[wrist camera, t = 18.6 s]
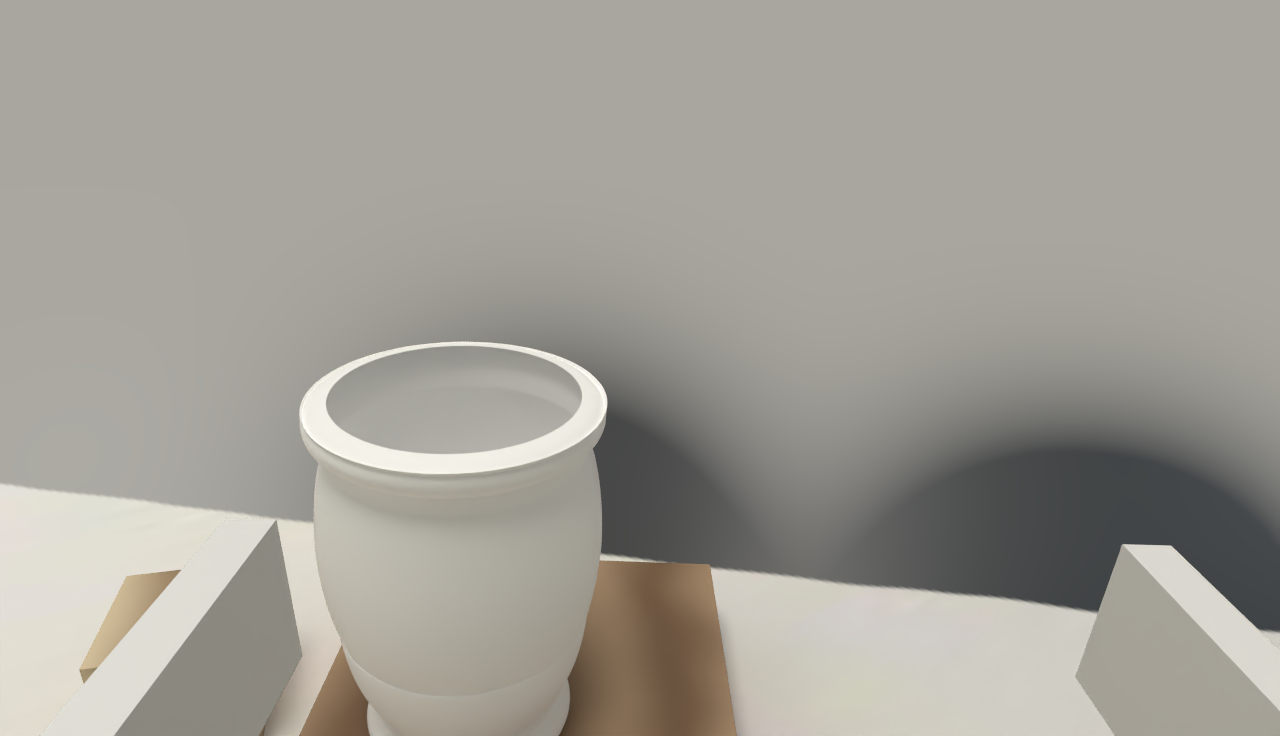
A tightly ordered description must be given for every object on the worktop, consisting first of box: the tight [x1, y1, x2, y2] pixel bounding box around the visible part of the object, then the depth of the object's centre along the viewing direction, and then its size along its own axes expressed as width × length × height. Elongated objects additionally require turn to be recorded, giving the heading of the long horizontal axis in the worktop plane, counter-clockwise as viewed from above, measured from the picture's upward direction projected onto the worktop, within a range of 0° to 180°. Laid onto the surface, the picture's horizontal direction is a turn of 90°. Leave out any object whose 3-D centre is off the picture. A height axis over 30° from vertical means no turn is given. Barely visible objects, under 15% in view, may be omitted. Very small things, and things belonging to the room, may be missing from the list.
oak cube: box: [80, 570, 266, 736], centre depth 36 cm, size 6×6×6 cm
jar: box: [299, 342, 607, 736], centre depth 30 cm, size 11×10×15 cm
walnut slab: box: [299, 561, 737, 736], centre depth 35 cm, size 18×18×4 cm
